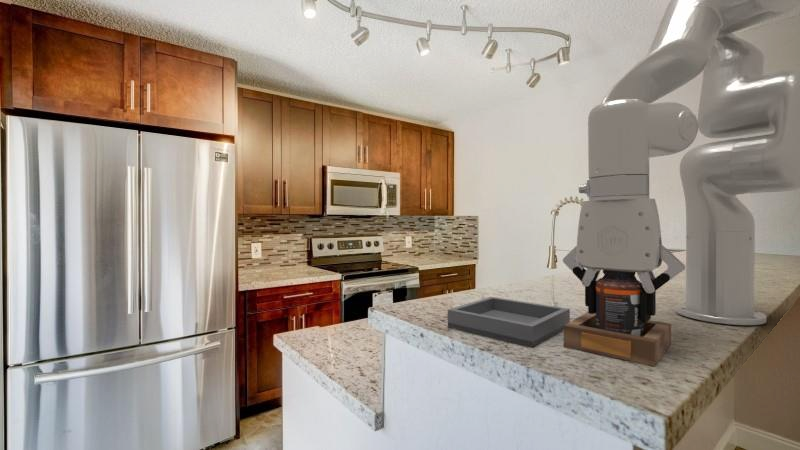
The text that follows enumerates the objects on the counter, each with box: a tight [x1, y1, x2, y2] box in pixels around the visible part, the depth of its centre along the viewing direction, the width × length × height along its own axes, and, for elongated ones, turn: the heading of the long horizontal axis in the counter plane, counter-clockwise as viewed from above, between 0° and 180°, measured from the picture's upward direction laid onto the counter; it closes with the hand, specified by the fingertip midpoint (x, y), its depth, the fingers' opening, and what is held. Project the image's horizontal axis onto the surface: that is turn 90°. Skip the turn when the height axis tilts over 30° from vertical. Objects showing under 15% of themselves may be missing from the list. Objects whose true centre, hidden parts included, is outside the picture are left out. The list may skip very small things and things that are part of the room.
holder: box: [563, 311, 672, 367], centre depth 55 cm, size 11×11×3 cm
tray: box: [447, 296, 571, 348], centre depth 64 cm, size 14×15×3 cm
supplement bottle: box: [596, 270, 644, 337], centre depth 55 cm, size 6×6×11 cm
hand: (618, 314), depth 55 cm, fingers closed on supplement bottle, 6 cm apart
